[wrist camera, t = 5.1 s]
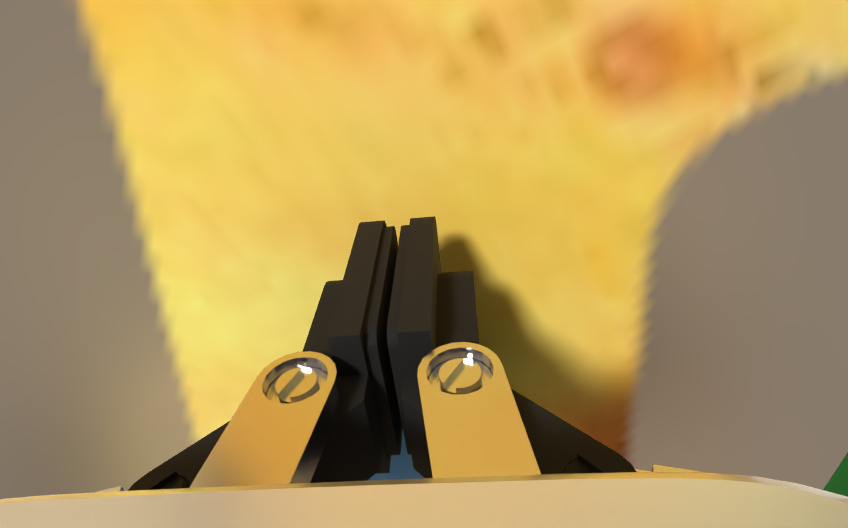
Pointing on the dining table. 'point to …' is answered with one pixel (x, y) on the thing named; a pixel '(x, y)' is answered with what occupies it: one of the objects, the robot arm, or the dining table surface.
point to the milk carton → (839, 479)
